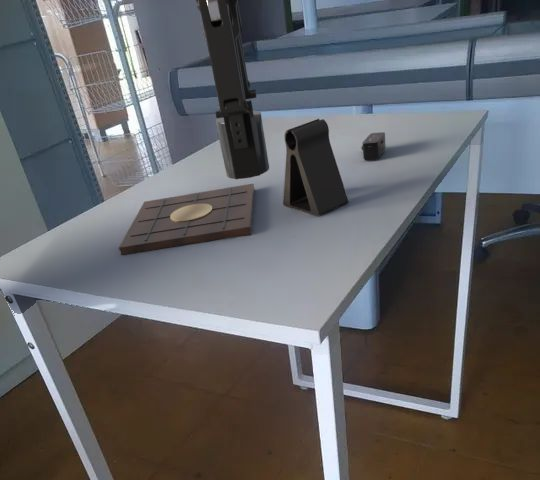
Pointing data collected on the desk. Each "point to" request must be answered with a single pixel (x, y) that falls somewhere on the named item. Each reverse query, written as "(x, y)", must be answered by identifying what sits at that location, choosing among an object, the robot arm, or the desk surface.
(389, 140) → the desk surface
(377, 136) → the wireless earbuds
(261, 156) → the dark grey canister
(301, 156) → the black triangular stand
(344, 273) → the desk surface
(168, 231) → the grid board
